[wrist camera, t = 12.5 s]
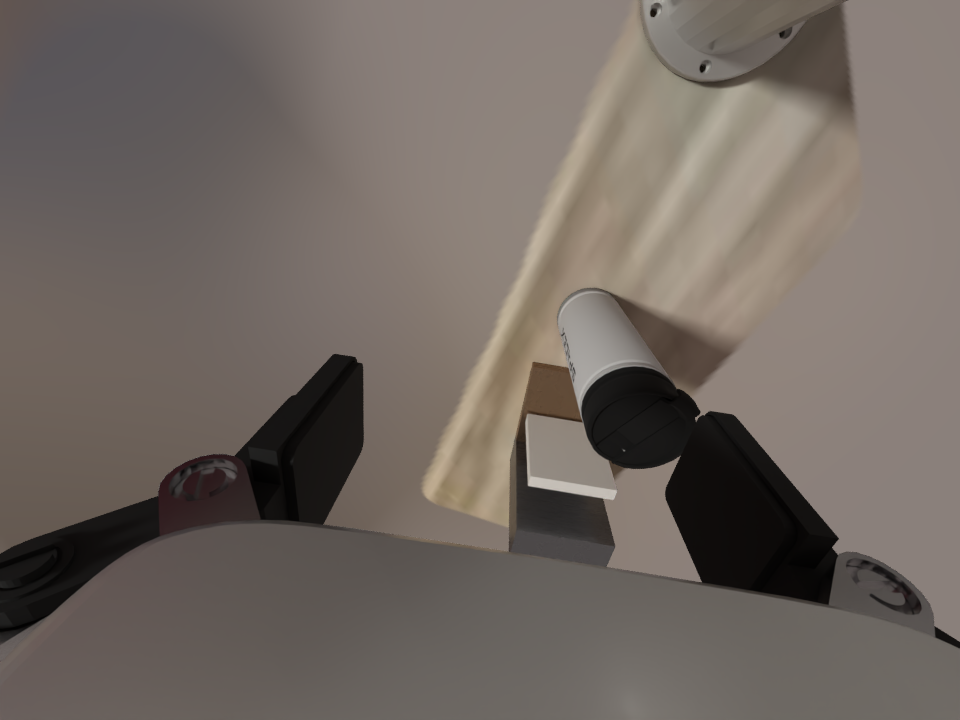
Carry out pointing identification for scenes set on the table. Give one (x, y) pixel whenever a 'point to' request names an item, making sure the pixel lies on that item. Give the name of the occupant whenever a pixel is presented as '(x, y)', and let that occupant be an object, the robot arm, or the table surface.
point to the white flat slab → (565, 459)
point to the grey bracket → (549, 513)
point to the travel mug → (621, 385)
